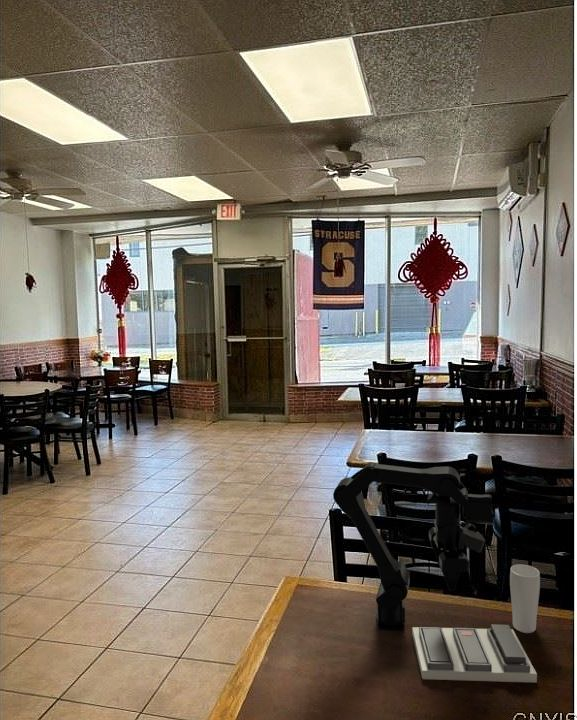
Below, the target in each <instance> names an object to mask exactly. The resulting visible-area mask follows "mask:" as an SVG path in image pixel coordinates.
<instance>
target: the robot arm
mask: <svg viewBox="0 0 577 720" xmlns="http://www.w3.org/2000/svg"><path fill="white" fill-rule="evenodd" d="M374 482H375V483H380V484H381V483H382V484H383V483H384V484H391V485H398V486H406V487H414V488H421V489H423V490H426V491H428V492H430V494H429V495H427V502H428V503H431V504H435V519H434V520H433V524H434V526H433V527H431V528H430V529H429V530H428V539H429V541H430V544H431V547H432V549H433V552H434V555H435V557H436V560H437V562H438V564H439V567H440V570H441V572H442V575H443V578H444V580H445V583H446V585H447V588H448V591H449V592H455V590H456V587H457V583H458V580H459V578H460V575H461V574H462V573H465V572H469V571H470V561H469V559H468V557H467V555H466V554H465V553H464V552H462V551H458V550H465V549H464V548H467V549H471V550H474V551H475V552H477V553H482V550H483V547H484V545H485V542H486V540H485V537H484V536H483V534H481V533H480V532H479V531H477V527H476V526H475V525H474V524H481V525H482V524H483V525H484V524H485V525H493V524H494V511H493V504H492V502H493V501H492V499H493V497H492V495H491V494H486V493H485V494H473V493H468V489H467V488H466V486H464V484H463V483H462V481H461V476H460V474H459V472H458V471H457V470H456V468H454V467H452V466H433V467H428V468H415V467H406V466H399V465H398V466H397V465H388V464H380V463H375V462H368V463H367V464H366V465H365V466H364V467H363V468H361V469H359V471H357V472H355V473H354V474H353V475H352V476H350V477H344V478H342V479H341V480H340V481H339V483H338V484H337V486H336V487H335V489H334V491H333V494H332V498H333V501H334V503H336V504H337V506H338V507H339V509H340V510H341V511H342V512H343V513H344V514H345V515H346V516H348V517H349V518H350V519H351V520H352V522H353V525H354V526H355V528H356V530H357V532H358V534H359V536H360V537H361V539H362V541H363V543H364V544H365V546H366V549H367V550H368V552H369V554H370V555H371V557H372V559H373V561H374V563H375V565H376V566H377V570H378V573H379V578H380V582H379V587H378V590H377V594H376V597H375V602H376V615H375V617H376V623H377V629H378V630H392V631H393V630H394V631H395V630H396V631H398V630H399V631H402V630H405V627H404V626H405V625H404V624H405V623H406V607H405V603H404V602H403V601H405V599H406V598H407V596H408V594H409V587H410V580H411V579H410V578H411V577H410V574H411V571H409V570H408V569H407V566H406V565H405V562H404V560H403V559H401V560H396V559H395V558H394V557H393V556H392V554H391V552H390V550H389V549H388V547H387V545H386V542H385V541H384V539H383V537H382V536H381V534H380V532H379V531H378V529H377V527H376V525H375V522H374V521H373V519H372V517H371V516H370V514H369V512H368V510H367V508H366V504H365V499H364V495H363V493H362V492H364V491H365V490H366V489H367V488H368V487H369V486H370V485H371V484H372V483H374ZM461 506H462V518H463V519H465V521H466V522H467V524H466V525H464V526H463V527H462V526H461Z"/></svg>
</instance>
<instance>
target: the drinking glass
mask: <svg viewBox="0 0 577 720" xmlns="http://www.w3.org/2000/svg"><path fill="white" fill-rule="evenodd" d="M509 586H510V587H509V588H510V590H509V591H510V600H511V613H512V626H513V628H514V629H516V631H519V632H521V633H524V634H532V633H534V632H535V631H536V629H537V617H538V616H537V615H538V607H539V599H540V592H541V591H540V589H541V575H540V571H539V569H538V568H536V567H534V566H531V565H529V564H528V565H527V564H521V563H520V564H514V565H512V566H511V567H510V572H509Z"/></svg>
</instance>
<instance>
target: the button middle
mask: <svg viewBox="0 0 577 720" xmlns="http://www.w3.org/2000/svg"><path fill="white" fill-rule="evenodd" d="M456 633H457V636H458V639H459V642H460V644H461V647H462V650H463V653H464V655H465V658H466V661H467V663H480V664H487V661H486V658H485V656H484V654H483V651H482V649H481V646H480V644H479V642H478V639H477V637H476V634H475V632H474V630H456Z"/></svg>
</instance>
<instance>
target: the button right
mask: <svg viewBox="0 0 577 720" xmlns="http://www.w3.org/2000/svg"><path fill="white" fill-rule="evenodd" d="M490 629H491V632H492V634H493V636H494V638H495V640H496V642H497V644H498V646H499V649H500V651H501V653H502V655H503V657H504V659H505V661H506V663H513V664H526V657H525V655H524V653H523V651H522V649H521V648H520V646H519V644H518V642H517V640H516V638H515V636H514V634H513V633H512V631H511V627H510V625H509V624H490Z"/></svg>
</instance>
